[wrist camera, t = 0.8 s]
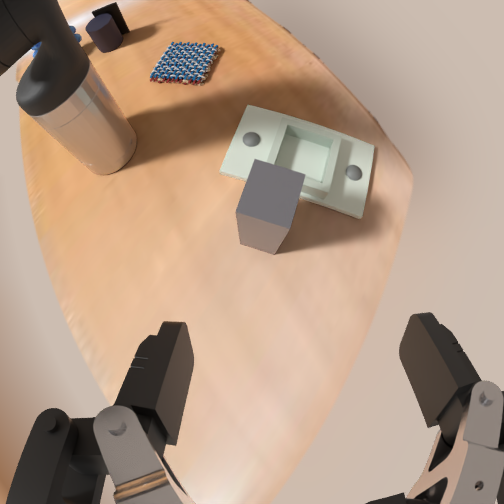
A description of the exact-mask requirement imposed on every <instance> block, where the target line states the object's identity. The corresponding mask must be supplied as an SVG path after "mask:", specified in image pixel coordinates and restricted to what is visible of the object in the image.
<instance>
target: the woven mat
mask: <svg viewBox="0 0 504 504" xmlns="http://www.w3.org/2000/svg"><path fill="white" fill-rule="evenodd" d="M189 43H190V42H188V43H187V44H186V43H184V44H183V45H182V42H180V43H179V44H178V43H176V44H175V45H173V44H174V42H172V43H171V45H170V46H169V47H167V51H166V52H165V53H164V52H163V53H164V55H162V56H163V57H160V58H161V59H160V60H159V61H158V62H157V65H156V66H157V67H155V68H153V69H154V70H153V71H152V72H153V73H150V74H151V76H150V78H151V80H150V81H151V82H158V83H161V82H167V83H168V82H169V83H182V84H184V85H186V84H193V85H204V83H200V82H202V81H203V80H206V77H204V76H207V77H208V75H209V74H205V72H209V71H210V67H211V66H210V64H213V62H211V61H213V60H216V57H218V55H215V53H218V52H220V49H218V45H216V46H215V47H213V45H214V44H211V47H210V45H207V46H205V44H206V43H203V45H202V44H199V45H198V46H197V43H195V45H194V44H191V45H189ZM207 52H208V53H207ZM207 60H208V61H207ZM198 68H199V69H198ZM155 77H156V78H155ZM154 78H155V79H154ZM166 78H168V80H166ZM170 79H172V80H170ZM179 79H180V80H179ZM189 79H190V80H189ZM192 80H194V81H192ZM196 81H198V82H196Z"/></svg>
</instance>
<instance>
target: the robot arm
mask: <svg viewBox="0 0 504 504" xmlns="http://www.w3.org/2000/svg"><path fill="white" fill-rule="evenodd" d="M39 42H42V43H41V45H40V48H39V50H38V52H37V54H36V56H35V57H34V59H33V60H32V62H31V64H30V65H29V66H28V68H27V70H26V71H25V73H24V74H23V76H22V78H21V80H20V82H19V85H18V88H17V92H16V99H17V102H18V104H19V106H20V107H21V108H22V109H23V110H24V111H25V112H26V113H27V114H29V115H30V116H31V117H32V118H33V119H34V120H35V121H36V122H37V123H38V124H39V125H40V126H42V127H43V128H44V129H45V130H46V131H47V132H48V133H49V134H50V135H51V136H53V137H54V138H55V139H56V140H57V141H58V142H59V143H60V144H61V145H62V146H64V147H65V148H66V149H67V150H68V151H69V152H70V153H71V154H73V155H74V156H75V157H76V158H77V159H78V160H79V161H80V162H81V163H83V164H84V165H85V166H86V167H87V168H88V169H90V170H91V171H92V172H93V173H95V174H99V175H107V174H111V173H113V172H116V171H117V170H119V169H120V168H122V167H123V166H124V165H125V164H126V163H127V162H128V161H129V160H130V158H131V157H132V155H133V153H134V151H135V148H136V144H137V137H136V134H135V132H134V130H133V128H132V127H131V125H130V124H129V122H128V121H127V119H126V117H125V116H124V114H123V113H122V111H121V109H120V108H119V106H118V105H117V103H116V102H115V100H114V98H113V97H112V95H111V94H110V92H109V90H108V89H107V87H106V86H105V84H104V82H103V81H102V79H101V78H100V76H99V74H98V73H97V71H96V70H95V68H94V66H93V65H92V63H91V61H90V60H89V58H88V56H87V55H86V53H85V52H84V50H83V49H82V47H81V46H80V44H79V42H78V41H77V39H76V38H75V36H74V34H73V33H72V31H71V29H70V27H69V25H68V23H67V21H66V19H65V17H64V15H63V13H62V10H61V8H60V6H59V4H58V1H57V0H0V76H1V75H2V74H3V73H4V72H6V71H7V70H8V69H9V68H10V67H11V66H12V65H13V64H14V63H15V62H16V61H17V60H19V59H20V58H21V57H22V56H23V55H24V54H25V53H27V52H28V51H29V50H30V49H31V48H32V47H34V46H35V45H36V44H37V43H39ZM399 356H400V360H401V362H402V365H403V367H404V369H405V371H406V374H407V376H408V379H409V381H410V383H411V386H412V388H413V391H414V393H415V395H416V398H417V401H418V403H419V406H420V408H421V411H422V413H423V416H424V419H425V421H426V424H427V427H428V428H429V427H432V426H436V425H439V426H440V430H439V431H438V433H437V436H436V439H435V441H434V445H433V447H432V450H431V453H430V455H429V458H428V461H427V463H426V466H425V468H424V470H423V473H422V475H421V476H420V478H419V480H418V481H417V482H416V483H415V485H414V486H413V487H412V489H411V490H410V492H409V494H408V495H407V497H406V498H405V495H404V493H400V494H397V495H393V496H390V497H387V498H382V499H378V500H374V501H370V502H368V503H366V504H495V500H496V497H497V502H498V504H504V391H501V390H500V388H499V387H498V386H497V385H495V384H494V383H492V382H490V381H482V380H481V379H480V377H479V375H478V374H477V372H476V370H475V369H474V367H473V365H472V363H471V362H470V360H469V359H468V357H467V355H466V354H465V352H463V349H462V348H461V346H460V344H458V341H457V339H456V338H455V336H454V335H453V333H452V332H451V331H450V330H448V329H447V328H446V327H445V326H444V325H442V324H439V322H438V321H437V319H436V318H435V316H434V315H433V314H432V313H430V312H428V313H420V314H413V315H412V316H411V317H410V319H409V322H408V325H407V327H406V330H405V333H404V336H403V338H402V341H401V343H400V349H399ZM193 367H194V354H193V350H192V345H191V341H190V337H189V333H188V328H187V325H186V323H185V322H168V321H164V322H163V323H162V325H161V327H160V330H159V332H158V335H157V336H156V335H149V336H148V337H147V338H146V339H145V340H144V341H143V342H142V343H141V344H140V345H139V347H138V350H137V352H136V354H135V358H134V359H133V361H132V363H131V368H129V370H128V372H127V375H126V377H125V380H124V382H123V384H122V387H121V389H120V392H119V394H118V396H117V399H116V401H115V403H114V405H113V406H110V407H108V408H105V409H104V410H102V411H101V412H100V413H99V414H98V415H97V416H96V417H93V418H75V419H70V418H69V417H68V415H67V414H66V413H65V412H64V411H62V410H60V409H57V408H51V409H47V410H45V411H43V412H42V413H41V414H40V415H39V416H38V417H37V419H36V421H35V423H34V425H33V428H32V430H31V432H30V435H29V437H28V440H27V442H26V445H25V447H24V450H23V452H22V455H21V458H20V461H19V463H18V466H17V469H16V472H15V475H14V478H13V481H12V484H11V487H10V491H9V494H8V497H7V501H6V504H100V499H101V495H102V490H103V486H104V482H105V477H106V475H110V476H111V478H112V481H113V483H114V485H115V488H116V491H115V492H114V500H115V503H116V504H195V502H194V501H193V500H192V499H191V497H190V496H189V495H188V493H187V492H186V490H185V489H184V487H183V486H182V484H181V483H180V481H179V479H178V478H177V476H176V475H175V473H174V471H173V470H172V468H171V467H170V465H169V463H168V462H167V460H166V458H165V456H164V455H163V454H164V450H165V446H166V444H169V445H175V446H176V444H177V439H178V434H179V430H180V425H181V421H182V416H183V412H184V407H185V403H186V398H187V394H188V389H189V385H190V381H191V376H192V372H193Z"/></svg>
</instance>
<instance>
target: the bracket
mask: <svg viewBox="0 0 504 504" xmlns="http://www.w3.org/2000/svg"><path fill="white" fill-rule="evenodd" d="M374 147H375V146H374V145H371V144H369V143H366V142H364V141H361V140H359V139H356V138H354V137H351V136H349V135H346V134H343V133H341V132H338V131H335V130H332V129H329V128H327V127H324V126H321V125H318V124H315V123H312V122H309V121H305V120H302V119H299V118H296V117H292V116H289V115H286V114H282V113H279V112H275V111H271V110H267V109H264V108H260V107H256V106H252V105H247V107H246V109H245V112H244V114H243V116H242V119H241V121H240V123H239V125H238V128H237V130H236V132H235V135H234V137H233V139H232V142H231V144H230V147H229V149H228V151H227V154H226V156H225V159H224V161H223V164H222V166H221V169H220V174H221V175H225V176H229V177H232V178H236V179H239V180H243V181H247V179H248V176H249V173H250V170H251V168H252V165H253V162H254V159H257V160H261V161H264V162H267V163H271V164H274V165H277V166H281V167H284V168H287V169H290V170H293V171H297V172H300V173H303V174H306V175H305V179H304V183H303V186H302V190H301V193H300V197H299V198H301V199H304V200H307V201H310V202H313V203H316V204H318V205H321V206H324V207H327V208H330V209H333V210H336V211H339V212H341V213H344V214H347V215H350V216H352V217H355V218H358V219H361V218H362V216H363V211H364V206H365V201H366V196H367V190H368V185H369V179H370V173H371V167H372V161H373V154H374Z"/></svg>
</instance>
